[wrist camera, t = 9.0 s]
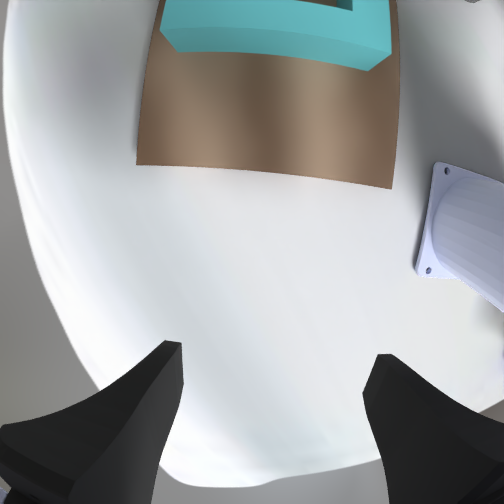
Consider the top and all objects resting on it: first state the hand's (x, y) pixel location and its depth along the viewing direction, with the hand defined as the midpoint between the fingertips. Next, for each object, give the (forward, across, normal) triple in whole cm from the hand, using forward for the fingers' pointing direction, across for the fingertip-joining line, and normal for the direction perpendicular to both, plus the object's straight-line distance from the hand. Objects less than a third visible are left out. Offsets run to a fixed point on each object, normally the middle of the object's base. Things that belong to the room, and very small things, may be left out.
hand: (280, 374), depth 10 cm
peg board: (+9, +1, -16) cm, 19 cm away
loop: (+8, +1, -19) cm, 21 cm away
